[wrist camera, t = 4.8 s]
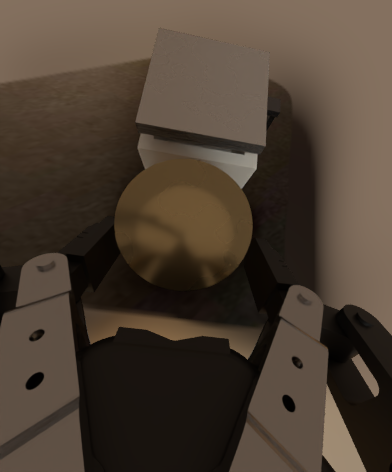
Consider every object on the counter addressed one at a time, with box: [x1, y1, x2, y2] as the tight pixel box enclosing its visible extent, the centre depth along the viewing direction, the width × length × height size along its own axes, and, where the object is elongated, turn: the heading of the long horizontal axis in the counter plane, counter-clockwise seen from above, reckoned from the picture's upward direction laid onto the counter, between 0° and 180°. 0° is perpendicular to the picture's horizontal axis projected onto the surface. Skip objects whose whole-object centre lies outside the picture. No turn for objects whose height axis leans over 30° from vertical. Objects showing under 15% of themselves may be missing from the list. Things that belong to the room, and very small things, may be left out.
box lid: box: [135, 28, 280, 154], centre depth 13 cm, size 10×8×4 cm
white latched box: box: [138, 133, 257, 189], centre depth 16 cm, size 9×9×5 cm
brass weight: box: [114, 159, 253, 291], centre depth 11 cm, size 5×5×10 cm
